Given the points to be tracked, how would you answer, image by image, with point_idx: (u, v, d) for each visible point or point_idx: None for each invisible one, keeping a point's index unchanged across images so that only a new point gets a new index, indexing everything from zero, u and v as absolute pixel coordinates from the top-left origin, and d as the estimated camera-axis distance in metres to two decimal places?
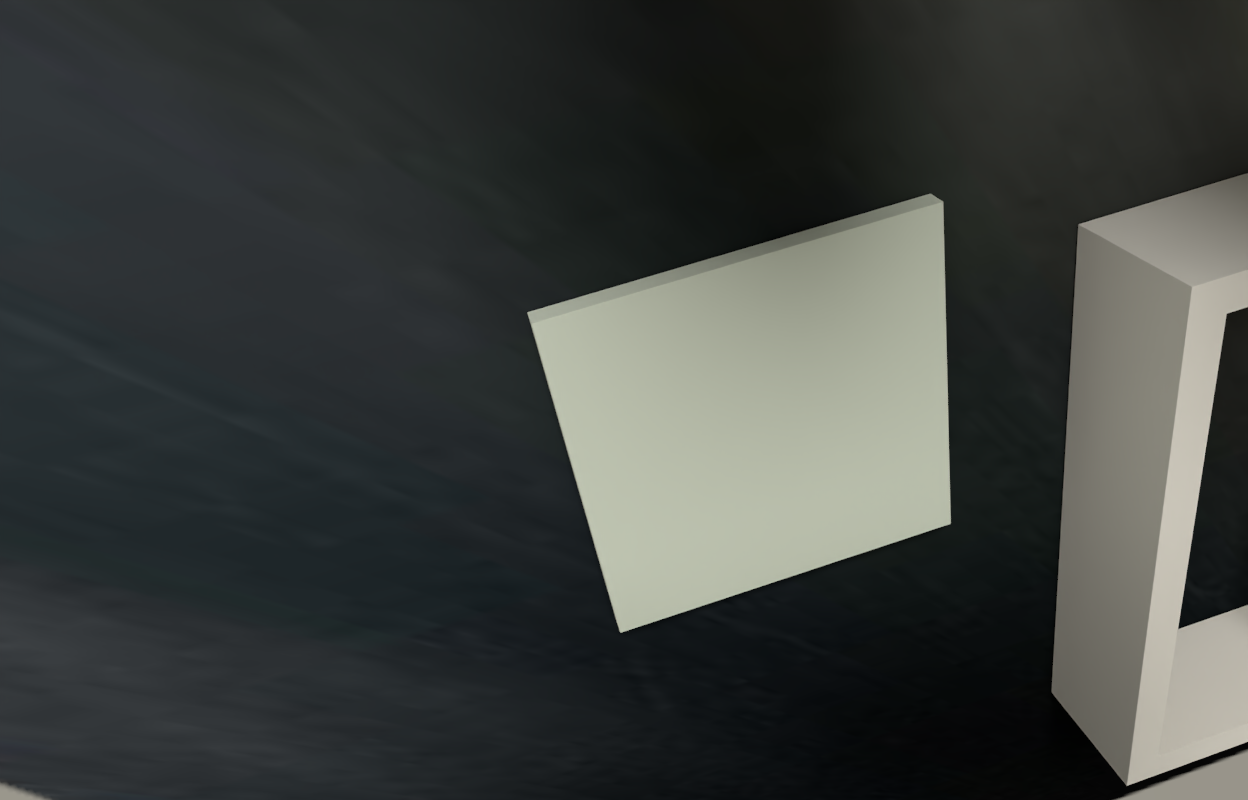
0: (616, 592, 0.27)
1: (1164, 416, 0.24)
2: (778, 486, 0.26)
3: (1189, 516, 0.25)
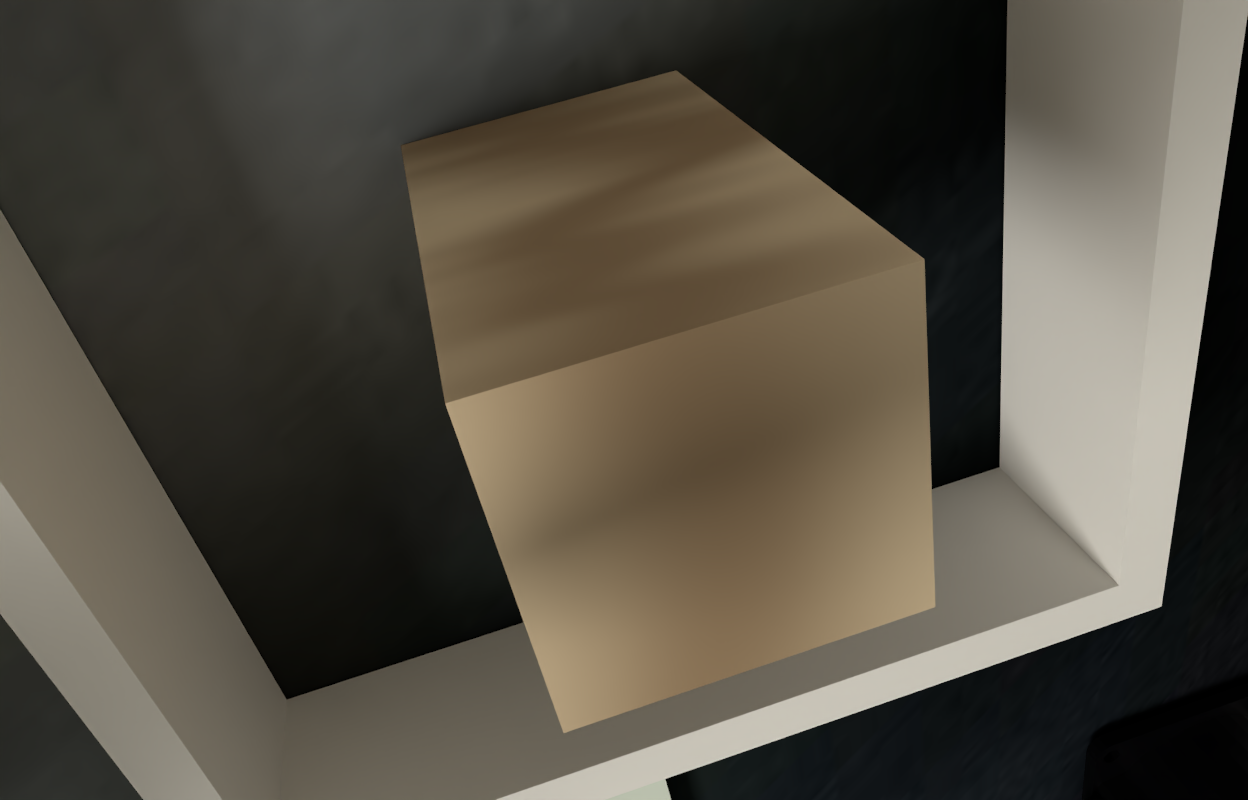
0: None
1: None
2: None
3: (610, 767, 0.17)
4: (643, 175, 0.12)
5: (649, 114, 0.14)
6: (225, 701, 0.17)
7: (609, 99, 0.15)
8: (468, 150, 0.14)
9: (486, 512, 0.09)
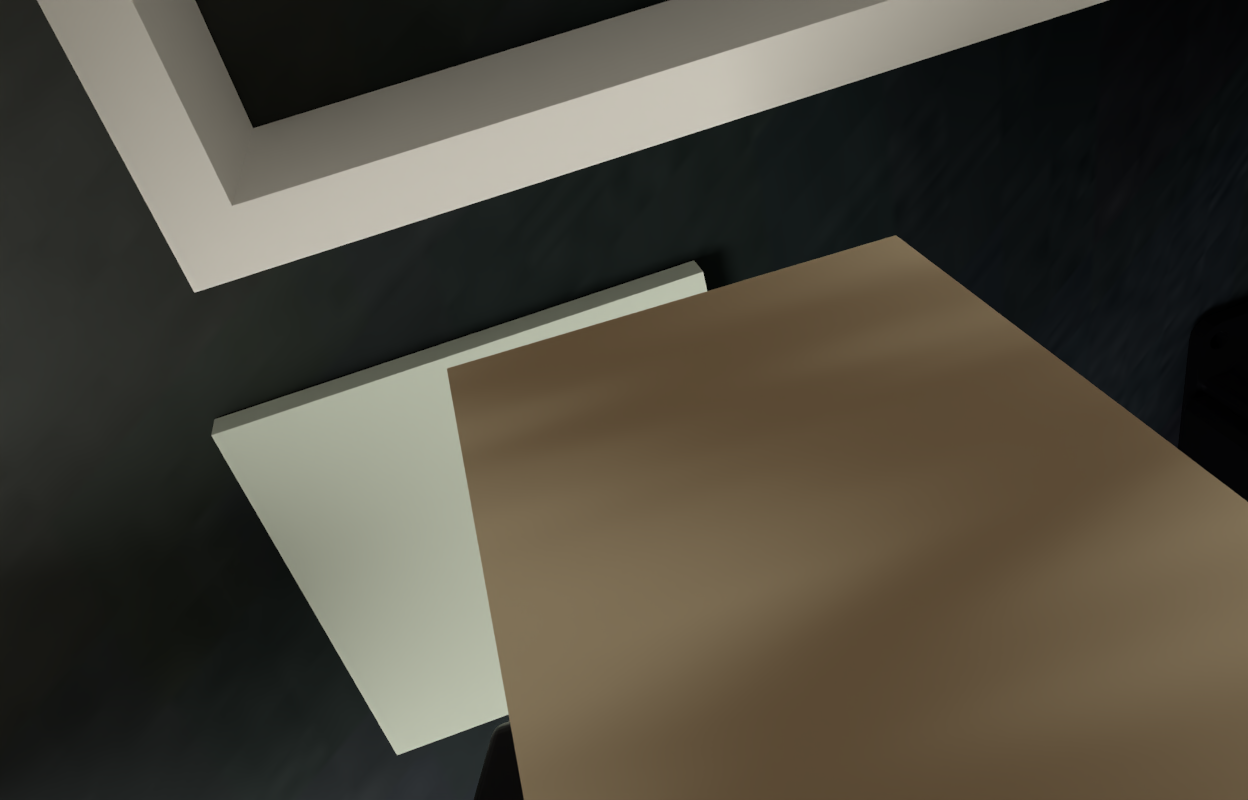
0: None
1: (445, 203, 0.14)
2: None
3: (648, 89, 0.14)
4: (961, 546, 0.06)
5: (892, 346, 0.08)
6: None
7: (798, 295, 0.09)
8: (569, 401, 0.08)
9: None
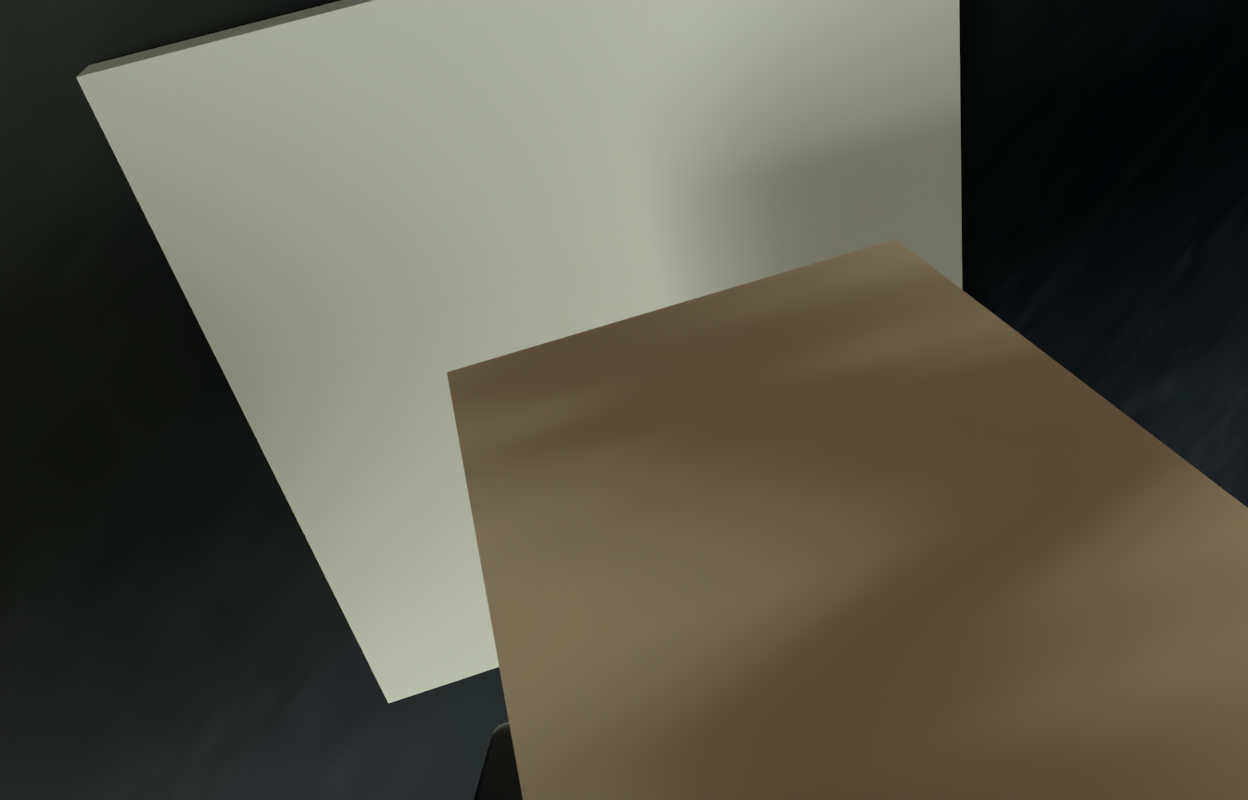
0: None
1: None
2: None
3: None
4: (958, 551, 0.06)
5: (892, 350, 0.08)
6: None
7: (798, 299, 0.09)
8: (569, 405, 0.08)
9: None
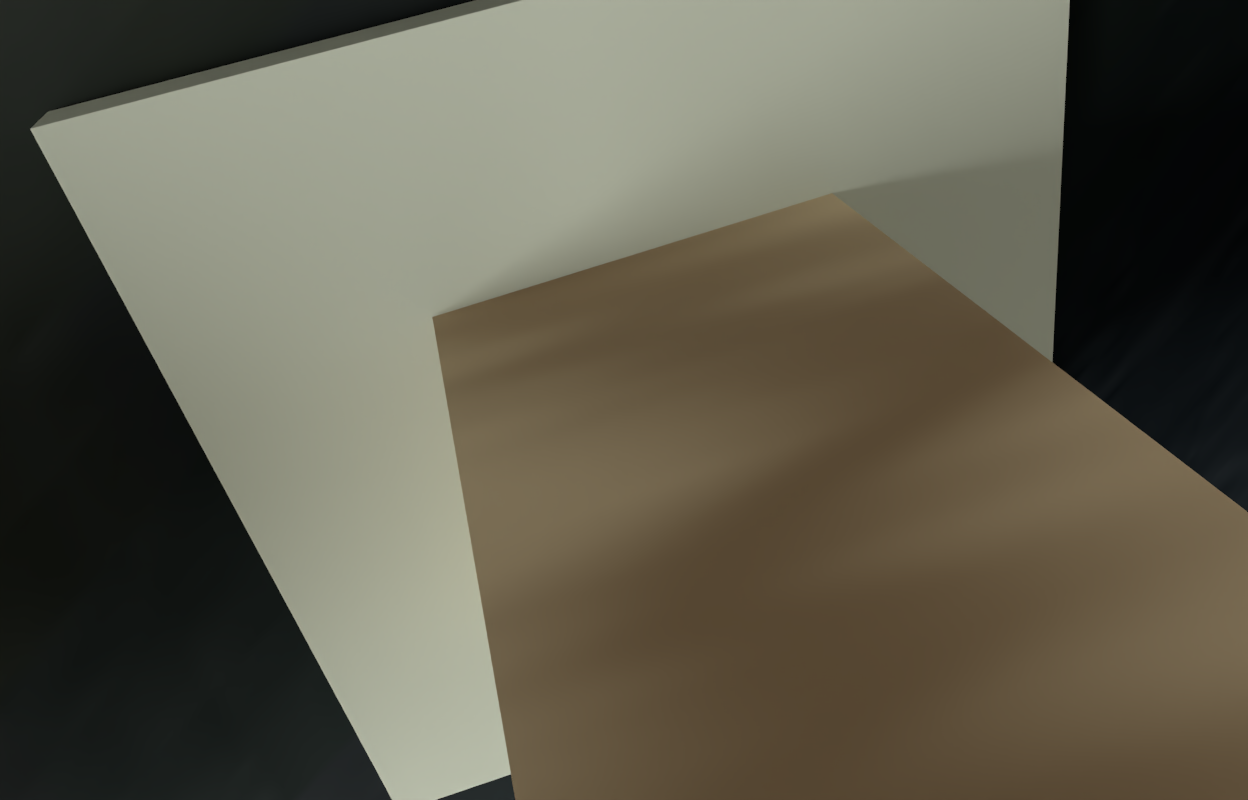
0: None
1: None
2: None
3: None
4: (855, 435, 0.07)
5: (818, 284, 0.09)
6: None
7: (742, 246, 0.10)
8: (538, 339, 0.09)
9: None
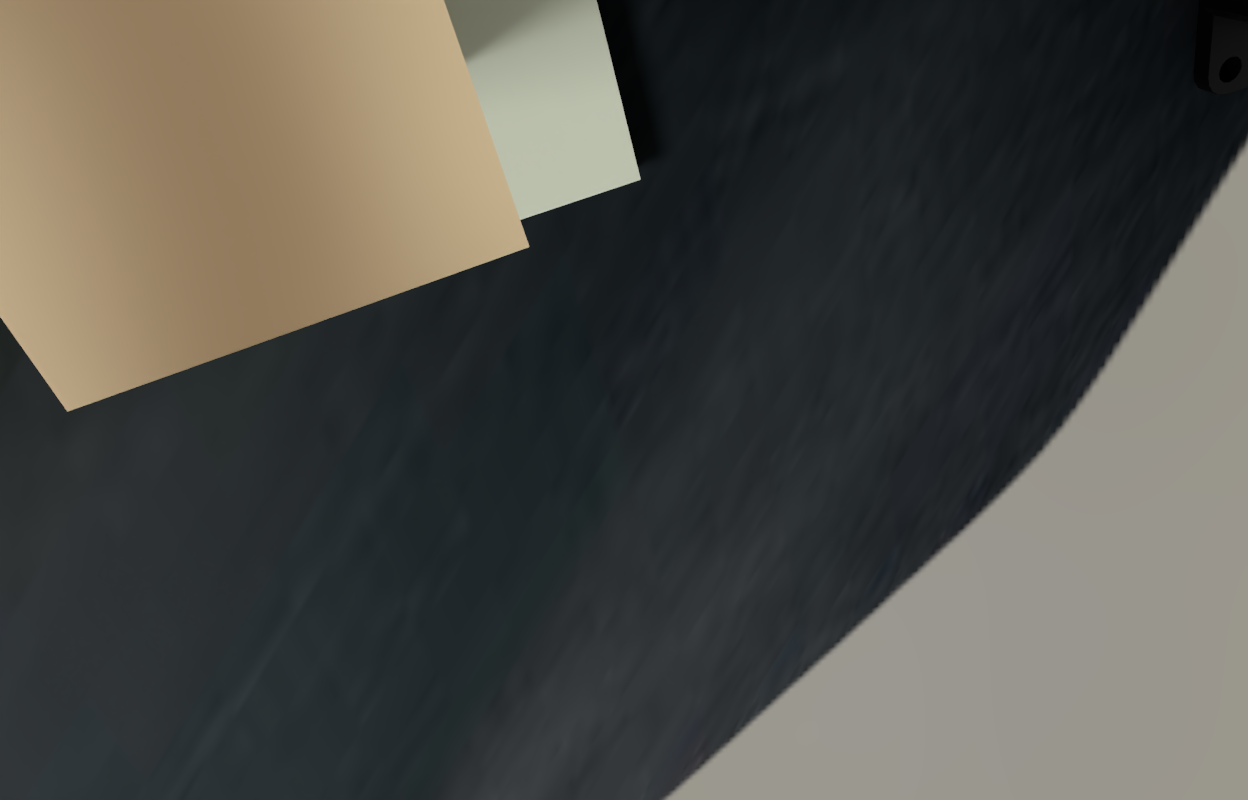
0: (560, 194, 0.18)
1: None
2: None
3: None
4: None
5: None
6: None
7: None
8: None
9: None
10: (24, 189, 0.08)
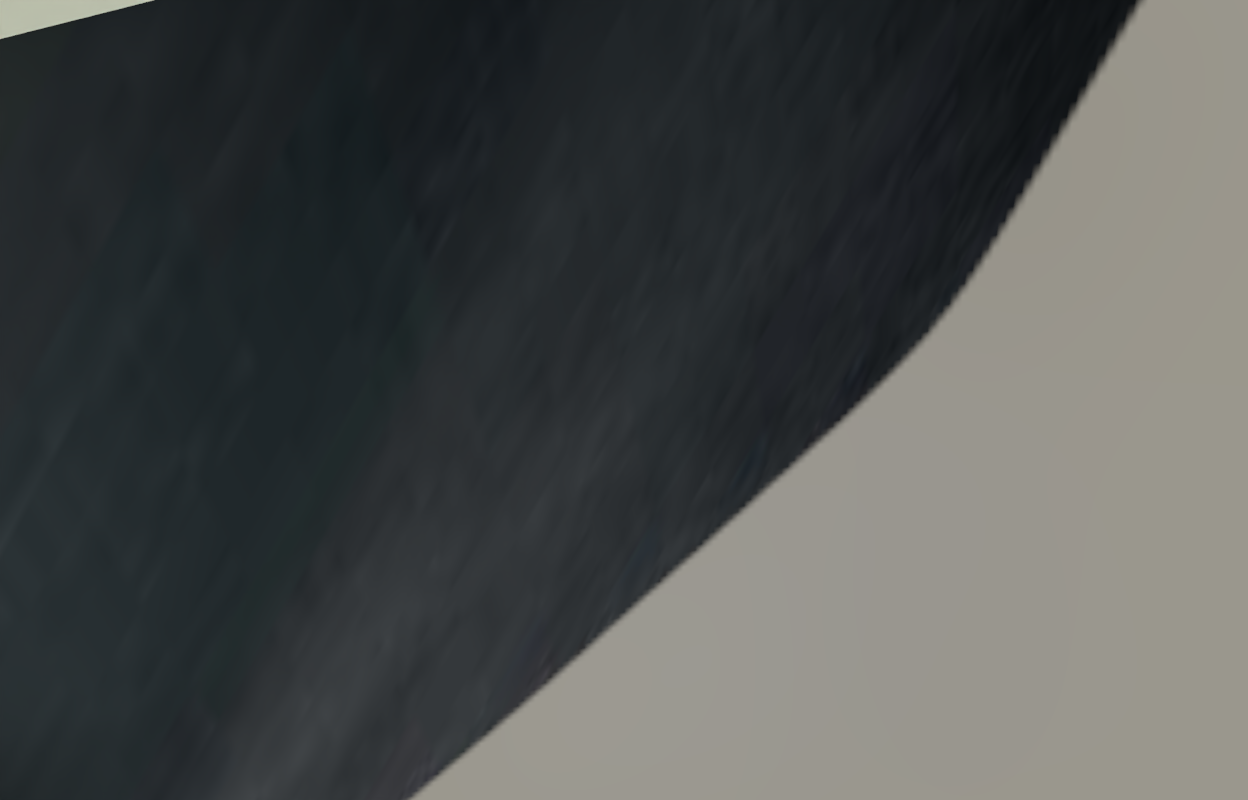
0: None
1: None
2: None
3: None
4: None
5: None
6: None
7: None
8: None
9: None
10: None
